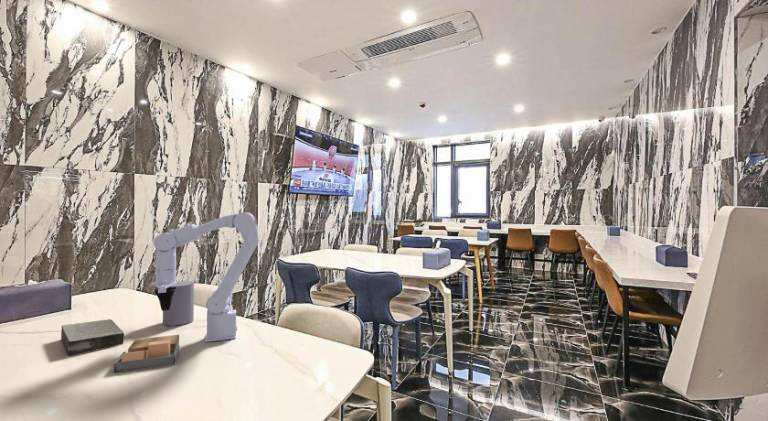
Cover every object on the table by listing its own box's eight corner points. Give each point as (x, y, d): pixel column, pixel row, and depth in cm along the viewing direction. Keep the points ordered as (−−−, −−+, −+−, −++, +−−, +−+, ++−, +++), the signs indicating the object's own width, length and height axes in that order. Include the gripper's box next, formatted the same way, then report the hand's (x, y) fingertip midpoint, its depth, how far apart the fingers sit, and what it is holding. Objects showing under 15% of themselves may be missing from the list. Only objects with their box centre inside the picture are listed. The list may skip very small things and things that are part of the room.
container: (196, 322, 135) (196, 284, 135) (165, 328, 129) (165, 287, 129) (190, 316, 143) (190, 279, 143) (160, 321, 137) (161, 283, 137)
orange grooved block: (179, 343, 114) (179, 334, 114) (175, 353, 107) (175, 343, 107) (135, 349, 110) (135, 339, 110) (127, 359, 102) (128, 348, 102)
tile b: (144, 351, 98) (143, 360, 97) (147, 350, 102) (147, 359, 101) (122, 353, 96) (121, 363, 95) (127, 352, 100) (126, 362, 99)
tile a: (170, 339, 103) (168, 342, 101) (170, 356, 103) (168, 360, 101) (150, 341, 101) (148, 345, 99) (150, 359, 101) (147, 362, 99)
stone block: (68, 357, 104) (68, 340, 104) (60, 340, 117) (60, 325, 117) (124, 345, 114) (124, 329, 114) (111, 330, 127) (111, 316, 127)
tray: (179, 352, 107) (179, 345, 107) (174, 364, 99) (175, 355, 99) (123, 360, 102) (123, 351, 102) (113, 372, 94) (113, 363, 94)
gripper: (156, 266, 121) (156, 305, 121) (146, 273, 108) (146, 317, 108) (179, 265, 124) (179, 303, 124) (173, 272, 111) (172, 315, 111)
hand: (165, 310), depth 116 cm, fingers closed
